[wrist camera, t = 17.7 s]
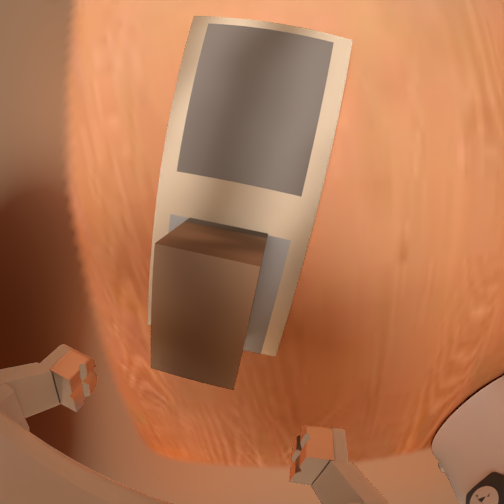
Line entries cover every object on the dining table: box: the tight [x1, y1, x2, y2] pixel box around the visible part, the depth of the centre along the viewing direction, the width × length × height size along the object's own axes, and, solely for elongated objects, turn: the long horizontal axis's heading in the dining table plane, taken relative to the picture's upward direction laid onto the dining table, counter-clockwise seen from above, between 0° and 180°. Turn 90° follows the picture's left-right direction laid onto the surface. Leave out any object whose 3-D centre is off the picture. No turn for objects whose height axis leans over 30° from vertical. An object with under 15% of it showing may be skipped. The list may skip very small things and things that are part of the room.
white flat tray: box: [147, 16, 353, 357], centre depth 17 cm, size 9×20×2 cm, turn 169°
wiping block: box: [151, 218, 268, 390], centre depth 16 cm, size 4×7×5 cm, turn 169°
